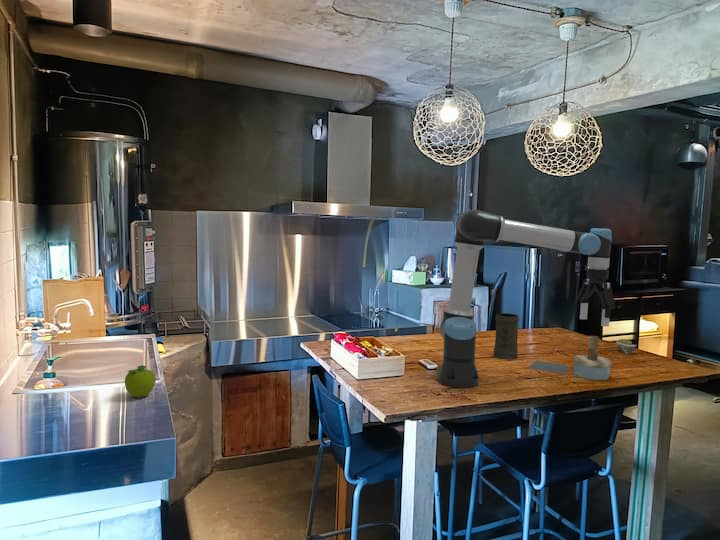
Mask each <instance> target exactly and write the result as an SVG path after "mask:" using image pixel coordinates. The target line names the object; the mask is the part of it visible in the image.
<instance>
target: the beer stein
mask: <svg viewBox="0 0 720 540" xmlns="http://www.w3.org/2000/svg"><path fill="white" fill-rule="evenodd" d="M519 321H520V317H519V315H518V314H515V313H504V312H503V313H501V312H500V313H496V314H495V326H496V327H495V341H494V348H493V355H492V356H493V358H496V359H500V360H501V359H502V360H509V361H510V360H517V359H518V358H519V355H518V353H519V351H518V331H519V330H518V329H519V328H518V327H519Z"/></svg>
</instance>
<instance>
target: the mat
mask: <svg viewBox="0 0 720 540" xmlns="http://www.w3.org/2000/svg"><path fill="white" fill-rule="evenodd" d="M571 367H572V365H571V366H570V365H565V364H560V363H554V362H550V361H549V362H548V361H542V360H536V361H534V362H533V363H531V364H530V365H528V366H527V367H526V368H527V369H531V370H538V371H543V372H548V373H554V374H559V375H564V374H565V373H566V372H567V371H568V370H569V369H570V368H571Z"/></svg>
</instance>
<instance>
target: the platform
mask: <svg viewBox="0 0 720 540" xmlns="http://www.w3.org/2000/svg"><path fill="white" fill-rule="evenodd" d="M632 342H633V341H632V340H628V339H626V338H625V339H624V338H621V339H620V338H619V339H618V340H616V344H618V351H619V352H622V353H625V354H626V355H633V353H634V352H633V351H634V348H635V347H637V344H633V343H632Z"/></svg>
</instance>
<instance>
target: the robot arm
mask: <svg viewBox="0 0 720 540" xmlns="http://www.w3.org/2000/svg"><path fill="white" fill-rule="evenodd" d="M454 226H455V230H456V231H455V235H454V242H453V243H454V244H455V246H456V255H455V262H454V269H453V274H452V276H453V277H452V281H451V289H450V292H449V293H450V294H449V300H448V305H447V307H446V308H445V309H443V315H442V320H441V323H440V326H439V332H440V335H441V337H442V339H443V352H442V353H443V356H442V357H443V358H442V362H441V365H440V368H439V371H438V373H437V381H438V382H439V383H440V384H441V385H444V386H448V387H451V388H452V387H453V388H473V387H476V386H478V385H479V383H480V381H479V380H480V376H479V373H478V370H477V365H476V362H475V361H476V340H477V332H478V331H477V324H476V322H475V321H474V313H473V312H472V310H471V306H472V300H473V294H474V289H475V288H474V287H475V281H476V275H477V274H476V273H477V269H478V261H479V256H480V251H481V250H482V249H483V248H484V247H485V243H486V241H487V242H494V243H497V242H498V241H500V240H501V241H506V242H511V243H516V244H517V243H518V244H524V245H529V246H536V247H541V248H546V249H547V248H548V249H551V250H552V249H553V250H558V251H559V252H565V253H576V254H583V255H585V256H587V255H588V258H587V267H588V268H587V270H586V278H584V279H583V281H582V286H581V288H580V290H579V292H578V295H577V298H576V300H577V301H579V303H580V306H579V311H580V312H579V320H588V310H589V300H590V298H591V297H592V296H593V294H594V293H597V295H598V296H599V298H600V302H601V304H602V306H603V308H602V310H601V311H602V312H601V323H600V324H601V325H600V326H601V327H609V325H610V318H611V313H612V312H611V311H612V310H614V309H616V303H615V299H614V294H613V290H612V283H611V282H606V280H608V279H609V273H610V270H609V268H610V259H611V251H612V250H611V249H612V241H613V238H612V236H613V235H612V234H613V233H612V230H611V228H610V229H609V228H599V227H598V228H597V227H596V228H594V227H593V228H591V229H590V231H589V232H581V231H577V230H571V229H563V228H558V227H552V226H547V225H541V224H535V223H534V224H533V223H529V222H521V221H517V220H511V219H506V218H505V219H504V217H503V216H502V215H497V214H493V213H489V212H486V211H483V210H480V209H469V210H464V211H463V212H462V213H461V214H460V215H459V216H458V217H457V219H456V220H455V225H454Z"/></svg>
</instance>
